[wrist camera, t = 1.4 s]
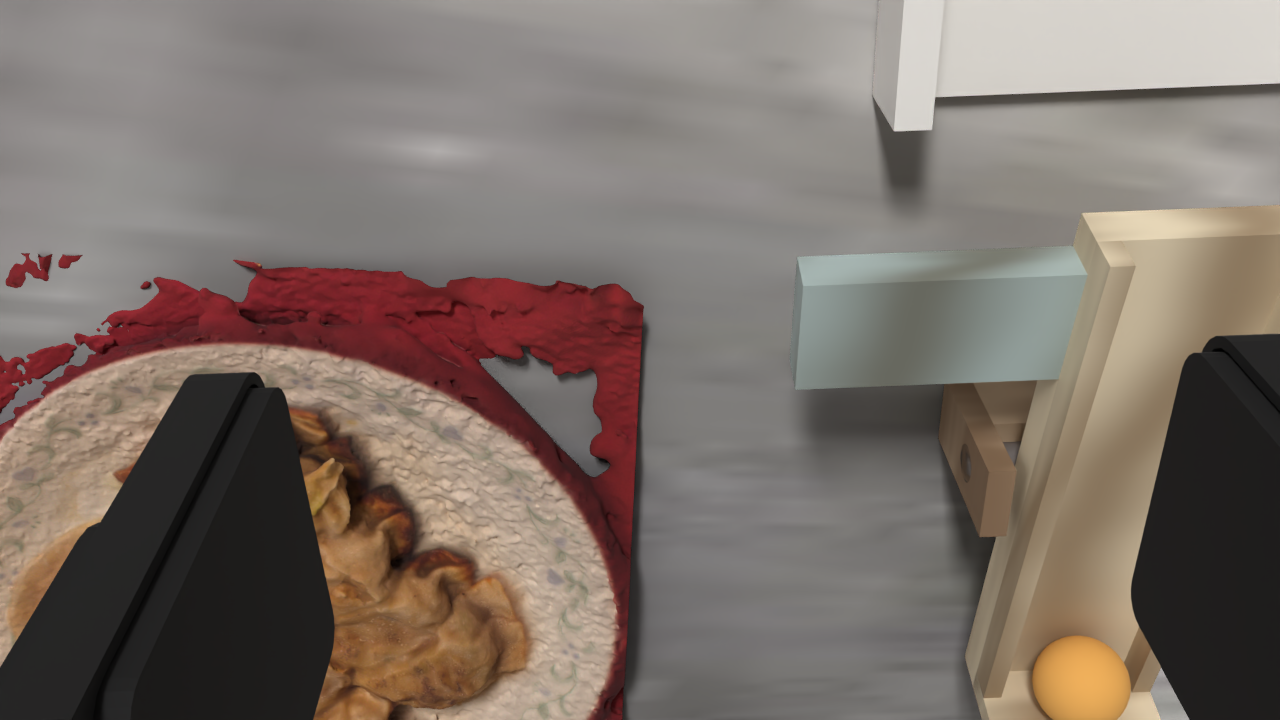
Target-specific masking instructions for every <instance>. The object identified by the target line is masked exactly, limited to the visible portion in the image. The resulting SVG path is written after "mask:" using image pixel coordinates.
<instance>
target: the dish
mask: <svg viewBox="0 0 1280 720" xmlns="http://www.w3.org/2000/svg"><path fill="white" fill-rule="evenodd" d="M1275 83H1280V0H879V3H878V18H877V32H876V47H875V62H874V77H873V92H872V95H873V97H874V99H875V101H876V102H877V104H878V106H879V107H880V109H881V111H882V112H883V114H884V116H885V117H886V119H887V121H888V122H889V124H890V126H891V127H892V129H893V131H918V130H932V125H933V114H934V104H935V97H952V96H977V95H1002V94H1027V93H1052V92H1076V91H1101V90H1126V89H1151V88H1176V87H1201V86H1226V85H1250V84H1275Z"/></svg>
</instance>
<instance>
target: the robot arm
mask: <svg viewBox="0 0 1280 720" xmlns="http://www.w3.org/2000/svg"><path fill="white" fill-rule="evenodd" d="M1131 602H1132V608H1133V612H1134V616H1135V619H1136V621H1137V623H1138V625H1139V627H1140V629H1141V631H1142V633H1143V635H1144V636H1145V638H1146V640H1147V642H1148V644H1149V646H1150V647H1151V649H1152V651H1153V653H1154V655H1155V657H1156V659H1157V660H1158V662H1159V664H1160V666H1161V668H1162V670H1163V671H1164V673H1165V675H1166V677H1167V679H1168V681H1169V682H1170V684H1171V686H1172V688H1173V690H1174V692H1175V694H1176V695H1177V697H1178V699H1179V701H1180V703H1181V705H1182V706H1183V708H1184V710H1185V712H1186V714H1187V716H1188V717H1189V719H1190V720H1280V334H1252V335H1226V336H1215V337H1213V338H1211V339H1210V340H1209V341H1208V342H1207V343H1206V345H1205V346H1204V348H1203V350H1202V352H1199V353H1192V354H1190V355H1189V356H1188V357H1187V359H1186V360H1185V362H1184V365H1183V367H1182V371H1181V375H1180V379H1179V383H1178V387H1177V392H1176V396H1175V400H1174V404H1173V409H1172V413H1171V417H1170V421H1169V425H1168V430H1167V434H1166V438H1165V442H1164V447H1163V451H1162V455H1161V459H1160V463H1159V468H1158V472H1157V476H1156V480H1155V485H1154V489H1153V493H1152V497H1151V501H1150V506H1149V510H1148V514H1147V518H1146V523H1145V527H1144V531H1143V535H1142V539H1141V544H1140V548H1139V552H1138V556H1137V561H1136V565H1135V569H1134V573H1133V577H1132V583H1131ZM334 631H335V625H334V614H333V608H332V604H331V599H330V595H329V590H328V585H327V581H326V576H325V572H324V567H323V563H322V558H321V554H320V549H319V545H318V540H317V536H316V531H315V526H314V522H313V517H312V513H311V508H310V504H309V499H308V495H307V490H306V486H305V481H304V476H303V472H302V467H301V463H300V458H299V454H298V449H297V445H296V440H295V436H294V431H293V427H292V422H291V417H290V413H289V408H288V404H287V400H286V397H285V394H284V392H283V391H282V389H280V388H279V387H267V388H265V385H264V383H263V381H262V379H261V377H260V375H258V374H257V373H255V372H240V373H213V374H194V375H189V376H188V378H187V379H186V380H185V381H184V382H183V384H182V386H181V387H180V389H179V391H178V393H177V394H176V396H175V398H174V399H173V401H172V403H171V404H170V406H169V408H168V409H167V411H166V413H165V414H164V416H163V418H162V419H161V421H160V423H159V425H158V426H157V428H156V430H155V431H154V433H153V435H152V436H151V438H150V440H149V441H148V443H147V445H146V446H145V448H144V450H143V451H142V453H141V455H140V456H139V458H138V460H137V462H136V463H135V465H134V467H133V468H132V470H131V472H130V473H129V475H128V477H127V478H126V480H125V482H124V483H123V485H122V487H121V488H120V490H119V492H118V493H117V495H116V497H115V499H114V500H113V502H112V504H111V505H110V507H109V509H108V510H107V512H106V514H105V515H104V517H103V519H102V520H101V522H99V523H96V524H94V525H92V526H90V527H88V528H87V529H86V530H85V531H84V533H83V534H82V535H81V536H80V537H79V539H78V540H77V542H76V543H75V545H74V547H73V548H72V550H71V552H70V553H69V555H68V556H67V558H66V560H65V561H64V563H63V565H62V566H61V568H60V570H59V571H58V573H57V575H56V576H55V578H54V579H53V581H52V583H51V584H50V586H49V588H48V589H47V591H46V593H45V594H44V596H43V598H42V599H41V601H40V602H39V604H38V606H37V607H36V609H35V611H34V612H33V614H32V616H31V617H30V619H29V621H28V622H27V624H26V625H25V627H24V629H23V630H22V632H21V634H20V635H19V637H18V639H17V640H16V642H15V644H14V645H13V647H12V648H11V650H10V652H9V653H8V655H7V657H6V658H5V660H4V662H3V663H2V665H1V667H0V720H313V719H314V715H315V712H316V708H317V705H318V701H319V698H320V694H321V691H322V687H323V684H324V680H325V677H326V673H327V669H328V666H329V662H330V659H331V655H332V651H333V645H334Z"/></svg>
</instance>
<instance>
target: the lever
mask: <svg viewBox="0 0 1280 720" xmlns="http://www.w3.org/2000/svg"><path fill="white" fill-rule="evenodd" d="M1252 334H1280V205H1271V206H1246V207H1222V208H1197V209H1172V210H1147V211H1122V212H1097V213H1082V214H1081V218H1080V221H1079V225H1078V229H1077V233H1076V237H1075V240H1074V244H1073V246H1055V247H1030V248H1005V249H980V250H955V251H930V252H905V253H880V254H855V255H830V256H806V257H797V265H796V279H795V293H794V307H793V321H792V335H791V348H790V364H791V370H792V375H793V381H794V386H795V390H802V389H827V388H852V387H877V386H903V385H928V384H953V383H978V382H1003V381H1028V380H1038V381H1037V384H1036V388H1035V392H1034V396H1033V400H1032V403H1031V407H1030V411H1029V415H1028V418H1027V422H1026V426H1025V430H1024V434H1023V437H1022V441H1021V445H1020V449H1019V453H1018V456H1017V460H1016V464H1015V468H1016V470H1017V472H1016V479H1015V485H1014V491H1013V498H1012V504H1011V510H1010V516H1009V523H1008V529H1007V535H1006V536H997V537H996V540H995V544H994V547H993V551H992V555H991V559H990V563H989V566H988V570H987V574H986V578H985V582H984V585H983V589H982V593H981V597H980V600H979V604H978V608H977V612H976V616H975V619H974V623H973V627H972V631H971V635H970V638H969V642H968V646H967V650H966V654H965V659H966V663H967V667H968V670H969V674H970V678H971V681H972V685H973V689H974V692H975V696H976V700H977V703H978V707H979V711H980V715H981V718H982V720H1053V719H1052V718H1050V717H1049V716H1048V715H1047V714H1046V713H1045V711H1044V710H1043V709H1042V708H1041V706H1040V704H1039V703H1038V701H1037V699H1036V696H1035V693H1034V689H1033V683H1032V675H1033V669H1034V665H1035V662H1036V660H1037V658H1038V656H1039V655H1040V653H1041V652H1042V651H1043V650H1044V649H1045V648H1046V647H1047V646H1048V645H1049V644H1051V643H1052V642H1054V641H1056V640H1058V639H1060V638H1063V637H1067V636H1087V637H1091V638H1094V639H1097V640H1099V641H1101V642H1103V643H1105V644H1106V645H1108V646H1109V647H1110V648H1112V649H1113V650H1114V651H1115V652H1116V653H1117V654H1118V655H1119V657H1120V658H1121V659H1122V661H1123V662H1124V664H1125V666H1126V668H1127V670H1128V674H1129V677H1130V683H1131V692H1130V698H1129V702H1128V704H1127V707H1126V709H1125V710H1124V712H1123V713H1122V715H1121V716H1120V717H1119V718H1118V719H1117V720H1161V719H1160V716H1159V714H1158V711H1157V709H1156V706H1155V704H1154V701H1153V699H1152V696H1151V694H1150V690H1151V688H1152V686H1153V684H1154V682H1155V679H1156V677H1157V675H1158V673H1159V671H1160V668H1161V666H1160V664H1159V662H1158V660H1157V659H1156V657H1155V655H1154V653H1153V651H1152V649H1151V647H1150V646H1149V644H1148V642H1147V640H1146V638H1145V636H1144V635H1143V633H1142V631H1141V629H1140V627H1139V625H1138V623H1137V621H1136V619H1135V616H1134V612H1133V608H1132V602H1131V583H1132V577H1133V573H1134V569H1135V565H1136V561H1137V556H1138V552H1139V548H1140V544H1141V539H1142V535H1143V531H1144V527H1145V523H1146V518H1147V514H1148V510H1149V506H1150V501H1151V497H1152V493H1153V489H1154V485H1155V480H1156V476H1157V472H1158V468H1159V463H1160V459H1161V455H1162V451H1163V447H1164V442H1165V438H1166V434H1167V430H1168V425H1169V421H1170V417H1171V413H1172V409H1173V404H1174V400H1175V396H1176V392H1177V387H1178V383H1179V379H1180V375H1181V371H1182V367H1183V365H1184V362H1185V360H1186V359H1187V357H1188V356H1189V355H1190V354H1192V353H1199V352H1202V350H1203V348H1204V346H1205V345H1206V343H1207V342H1208V341H1209V340H1210V339H1211V338H1213V337H1215V336H1226V335H1252Z"/></svg>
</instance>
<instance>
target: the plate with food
mask: <svg viewBox="0 0 1280 720" xmlns="http://www.w3.org/2000/svg"><path fill="white" fill-rule="evenodd" d="M21 254H22V253H21ZM29 254H30V253H29ZM29 254H22V255H24V256H25V257H26V261H25V263H24V264H23V265H20V264H15V265H14V266H13V267H12V269H11V270H10V273H9V276H8V278H7V279H6V285H7V286H10V287H14V288H18V287H21V286H22V285H23V282H24V281H25V279H26V277H25V273H26V272H28V273H30V274H31V275H32V276H33V277H34V278H40V279H43V280H44V281H48V279H49V276H48V270H49V265H50V262H51V257H52V254H51V255H48V256H46V257H40V256H38V257H39V263H40V269H41V271H40V270H39V269H38V267H37V263H35V262H33V261H32V260H30V259H29ZM38 255H39V254H38ZM81 256H82V255H80V256H65V255H63V256H62V257H61V258H60V260H59V267H60V268H69V267H70V264H71V263H72V262H76V261H78V260H79V259H80V257H81ZM233 261H235V262H237V263H239V264H240V265H243V266H246V267H248V268H252V269H254V270H256V271H257V275H256V276H255V277H254V279H253V280H252V281H251V282H250V284H249V288H248V294H247V296H246V298H245V300H244V301H243V302H240V303H239V302H234V301H233V300H232V299H230V298H228V297H226V296H224V295H220V294H216V293H213V292H211V291H209V290H208V289H207V288H202V289H201V290H200V292H199V291H197V290H195V289H193V288H191V287H189V286H187V285H185V284H183V283H181V282H179V281H176V280H170V279H164V278H160V277H157V278H155V279H154V280H153V281H154V283H155V284H156V285H157V286H158V288H159V293H158V294H157V295H156V296H155V297H154V298H153V299H152V300H151V301H150V302H149V303H147V304H146V305H145V306H144V307H142V308H140V309H137V310H132V311H127V310H122V311H117V312H114V313H113V314H111V315H110V316H109V317H108V318H107V319H106V320H105V321H104V322H103V323H101V325H103V324H104V323H105V322H109V323H110V325H111V326H112V327H109V328H108V330H107V332H108V333H109V334H110V335H106V336H105V335H95V336H91V337H88V336H85V335H82V334H75V335H74V338H75V340H76V344H77V345H81V344H82V343H85V344H86V345H87V346H88V347H89V349H91V350H93V351H95V352H96V354H95V355H93V354H91V355H88V360H87V361H86V363H85V364H84V365H82V366H74V365H69V366H67V367H66V369H65V370H64V375H63V376H62V377H58V378H56V379H55V380H54V381H52V382H48V381H43V384H46V387H45V388H44V390H43V391H42V393H41V395H43V396H44V398H37V399H35V400H33V401H28V402H27V404H28V405H24V406H22V407H16V408H15V409H14V411H13V412H14V414H15V418H14V419H12V420H9V421H7V422H5V423H3V424H1V425H0V667H1V665H2V663H3V662H4V660H5V658H6V657H7V655H8V653H9V652H10V650H11V648H12V647H13V645H14V644H15V642H16V640H17V639H18V637H19V635H20V634H21V632H22V630H23V629H24V627H25V625H26V624H27V622H28V621H29V619H30V617H31V616H32V614H33V612H34V611H35V609H36V607H37V606H38V604H39V602H40V601H41V599H42V598H43V596H44V594H45V593H46V591H47V589H48V588H49V586H50V584H51V583H52V581H53V579H54V578H55V576H56V575H57V573H58V571H59V570H60V568H61V566H62V565H63V563H64V561H65V560H66V558H67V556H68V555H69V553H70V552H71V550H72V548H73V547H74V545H75V543H76V542H77V540H78V539H79V537H80V536H81V535H82V534H83V533H84V531H85V530H86V529H87V528H88V527H90V526H92V525H94V524H96V523H99V522H101V520H102V519H103V517H104V515H105V514H106V512H107V510H108V509H109V507H110V505H111V504H112V502H113V500H114V499H115V497H116V495H117V493H118V492H119V490H120V488H121V487H122V485H123V483H124V482H125V480H126V478H127V477H128V475H129V473H130V472H131V470H132V468H133V467H134V465H135V463H136V462H137V460H138V458H139V456H140V455H141V453H142V451H143V450H144V448H145V446H146V445H147V443H148V441H149V440H150V438H151V436H152V435H153V433H154V431H155V430H156V428H157V426H158V425H159V423H160V421H161V419H162V418H163V416H164V414H165V413H166V411H167V409H168V408H169V406H170V404H171V403H172V401H173V399H174V398H175V396H176V394H177V393H178V391H179V389H180V387H181V386H182V384H183V382H184V381H185V380H186V379H187V378H188V376H189V375H194V374H213V373H240V372H255V373H257V374H258V375H260V377H261V379H262V381H263V383H264V385H265V388H267V387H279V388H280V389H282V391H283V392H284V394H285V397H286V400H287V404H288V408H289V413H290V417H291V422H292V427H293V431H294V436H295V440H296V445H297V449H298V454H299V458H300V463H301V467H302V472H303V476H304V481H305V486H306V490H307V495H308V499H309V504H310V508H311V513H312V517H313V522H314V526H315V531H316V536H317V540H318V545H319V549H320V554H321V558H322V563H323V567H324V572H325V576H326V581H327V585H328V590H329V595H330V599H331V604H332V608H333V614H334V625H335V631H334V645H333V651H332V655H331V659H330V662H329V666H328V669H327V673H326V677H325V680H324V684H323V687H322V691H321V694H320V698H319V701H318V705H317V708H316V712H315V715H314V719H313V720H622V709H623V687H624V681H625V665H626V647H627V628H628V609H629V589H630V566H631V540H632V519H633V500H634V480H635V462H636V439H637V416H638V397H639V378H640V358H641V339H642V323H643V308H644V306H643V305H641V304H640V303H638V302H636V301H634V300H633V298H632V296H631V294H630V293H629V292H627V291H625V290H624V289H623V288H622V287H621V286H620V285H618V284H607V285H601V286H598V287H597V288H594V289H590V288H587V287H586V286H582V285H577V284H572V283H565V282H561V281H556V283H555V284H554V285H551V286H538V285H534V284H530V283H524V282H517V281H514V280H510V279H506V278H491V279H480V278H475V277H468V278H464V279H457V280H450V281H449V282H448V283H447V287H443V288H434V287H430V286H428V285H426V284H425V283H423V282H422V281H420V280H416V279H412V278H409V277H407V276H405V275H404V274H403V272H402V271H398V272H382V271H366V270H354V269H348V268H346V269H340V268H335V269H326V268H315V269H309V268H307V267H296V268H295V267H288V268H275V269H261V268H262V266H261V264H259V263H254V262H246V261H238V260H233ZM149 286H150V282H148V281H146V282H144V283H143V285H142V286H141V289H145V288H148V287H149ZM453 302H454V303H453ZM119 324H121V325H122V326H123V327H119V328H117V327H118V325H119ZM128 330H129V332H128ZM97 331H100V329H99V328H97ZM522 346H527V347H529V348H530V353H531V354H532V355H533V356H534V357H536V358H539V359H542V360H545V361H548V362H549V363H551V364H552V365H553V373H554V374H555V375H561V374H564V373H566V372H570V373H573V374H576V373H578V372H583V371H585V370H587V369H592V370H593V371H594V372H595V374H596V376H597V390H596V394H595V396H594V400H593V408H594V413H595V414H596V415H597V416H598V417H599V418H600V420H601V425H602V432H601V433H599V434H598V435H596V436H595V437H594V438H593V439H592V441H591V444H590V453H591V455H593V456H595V457H599V458H603V459H605V460H607V461H608V462H609V463H610V467H609V469H608V470H606V471H605V472H603V473H602V474H600V475H599V476H597V477H591V476H589V475H587V474H585V473H584V472H583V471H582V470H581V468H580V467H579V466H578V465H577V464H576V462H575V461H574V460H572V459H571V458H570V457H569V456H568V455H567V453H566V452H565V451H563V450H562V449H561V448H560V447H559V446H558V445H557V444H556V443H555V442H554V441H553V440H552V438H551V437H550V436H549V435H548V434H547V433H546V432H545V431H544V430H543V429H542V428H541V427H540V426H539V425H538V424H537V423H536V421H535V420H534V419H533V418H532V417H531V416H530V415H529V414H528V413H527V412H526V411H525V410H524V409H523V408H522V407H521V406H520V404H519V403H518V402H517V401H516V400H515V399H514V398H513V397H512V396H511V395H510V394H509V393H508V392H507V391H506V390H505V389H504V388H503V387H502V386H501V385H500V384H499V383H498V382H497V381H496V380H495V379H494V378H493V377H492V376H491V375H490V374H489V373H488V372H487V371H486V370H485V369H484V368H483V367H482V366H481V365H480V364H481V363H480V362H479V359H480V358H487V359H488V358H494V357H495V356H496V355H499V356H505V357H509V358H512V359H520V358H522V357H523V355H524V354H523V350H522V349H521V347H522ZM76 348H77V347H76V346H75V345H70V344H68V343H65V344H62V345H58V346H56V347H53V346H52V347H49V348H44V349H41V350H39V351H37V352H35V353H33V354H28V355H27V358H28V359H30V361H29V362H27V363H25V362H24V361H23V359H22V358H19V357H14V358H12V359H11V360H10V362H5V361H4V360H3V358H2V357H1V356H0V413H1V411H2V409H3V408H4V407H6V405H7V404H8V403H9V402H10V400H13V399H14V398H15V393H16V392H17V391H18V390H19V388H18V386H13V385H12V383H17V382H19V386H23V385H25V383H23V381H25V380H26V381H27V383H28V384H31V383H32V380H31V378H35V379H41V378H43V376H44V375H47V374H48V373H50V372H51V371H52V370H53V369H55V368H57V367H58V366H60V365H64V364H65V363H67V362H69V359H70V358H71V357H72V356H73V355H74V352H73V350H75V349H76ZM103 354H104V355H103ZM19 364H21V365H22V366H24V368H25V370H26V372H25V374H24V375H23V374H22V371H21V370H18V369H17V365H19ZM4 371H6V373H4Z"/></svg>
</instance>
